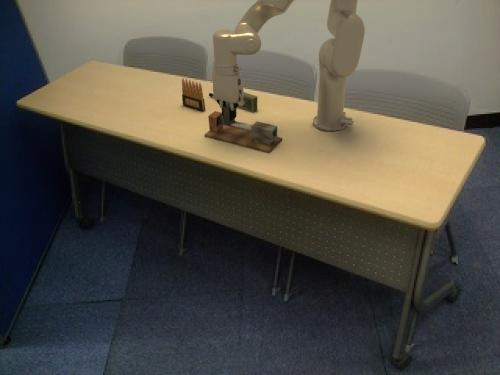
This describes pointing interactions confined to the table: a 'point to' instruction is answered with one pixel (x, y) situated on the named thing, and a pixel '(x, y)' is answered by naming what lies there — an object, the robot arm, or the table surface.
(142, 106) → the table surface
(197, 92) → the ammunition clip
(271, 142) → the tube stand
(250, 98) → the handheld radio
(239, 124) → the tube
